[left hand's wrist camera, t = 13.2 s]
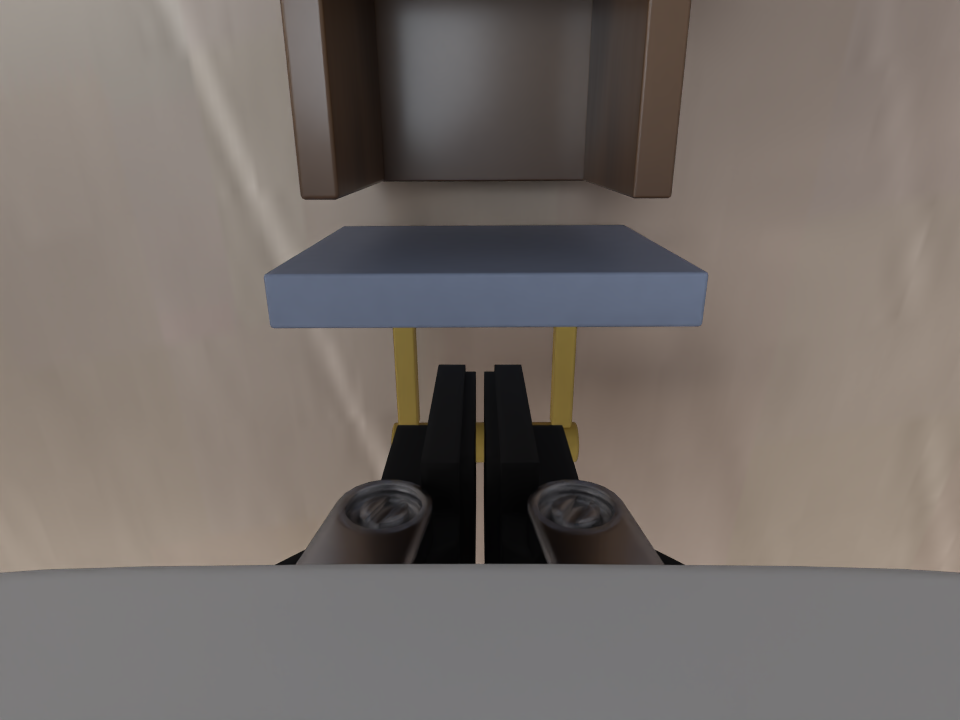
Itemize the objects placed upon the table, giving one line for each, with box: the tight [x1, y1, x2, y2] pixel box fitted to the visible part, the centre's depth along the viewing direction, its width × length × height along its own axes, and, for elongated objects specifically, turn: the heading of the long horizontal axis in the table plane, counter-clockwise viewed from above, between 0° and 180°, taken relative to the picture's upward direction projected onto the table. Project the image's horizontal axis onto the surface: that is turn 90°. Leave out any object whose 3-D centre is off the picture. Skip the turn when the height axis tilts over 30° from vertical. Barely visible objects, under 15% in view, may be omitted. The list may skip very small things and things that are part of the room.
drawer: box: [264, 0, 708, 462], centre depth 14 cm, size 22×9×8 cm, turn 0°
